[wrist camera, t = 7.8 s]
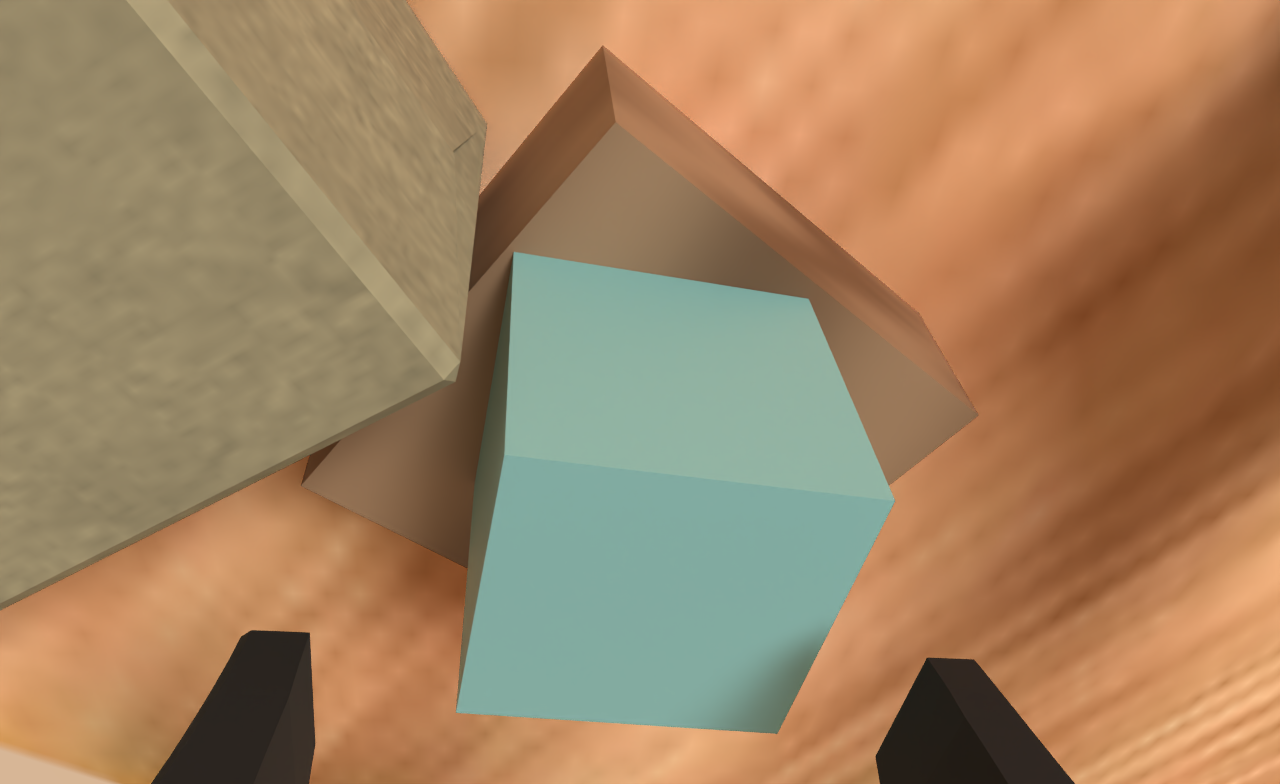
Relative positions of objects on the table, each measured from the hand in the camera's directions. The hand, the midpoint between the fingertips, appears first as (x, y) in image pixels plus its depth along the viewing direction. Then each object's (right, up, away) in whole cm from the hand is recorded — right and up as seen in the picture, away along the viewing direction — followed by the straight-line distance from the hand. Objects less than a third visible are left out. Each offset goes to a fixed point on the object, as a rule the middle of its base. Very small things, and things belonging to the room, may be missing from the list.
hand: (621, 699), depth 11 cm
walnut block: (0, +5, +10) cm, 11 cm away
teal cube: (0, +4, +6) cm, 7 cm away
